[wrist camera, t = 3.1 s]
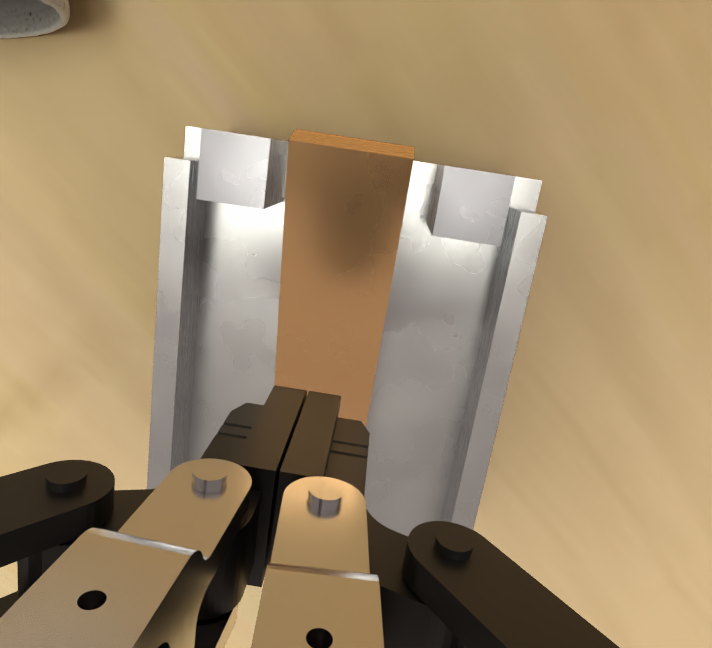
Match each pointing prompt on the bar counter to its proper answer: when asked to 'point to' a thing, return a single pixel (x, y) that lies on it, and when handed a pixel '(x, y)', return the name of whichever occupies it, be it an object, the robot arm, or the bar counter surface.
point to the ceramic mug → (32, 17)
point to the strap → (338, 263)
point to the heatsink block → (401, 327)
